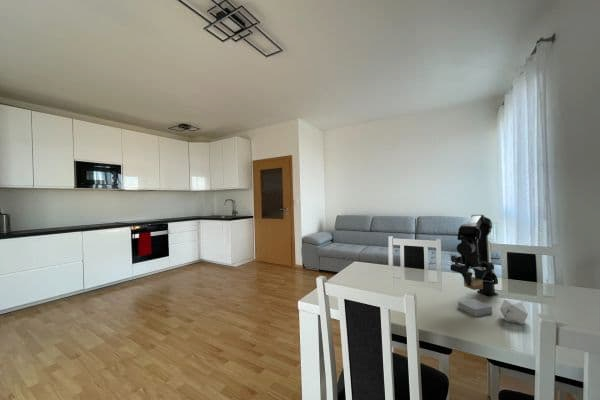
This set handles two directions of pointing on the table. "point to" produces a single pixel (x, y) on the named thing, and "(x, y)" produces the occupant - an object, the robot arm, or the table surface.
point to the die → (513, 311)
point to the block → (475, 284)
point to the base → (475, 307)
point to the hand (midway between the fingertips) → (473, 285)
